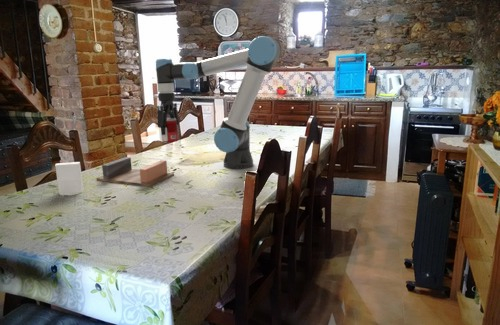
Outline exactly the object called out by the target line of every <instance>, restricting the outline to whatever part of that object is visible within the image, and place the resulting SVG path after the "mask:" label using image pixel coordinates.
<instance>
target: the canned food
mask: <svg viewBox="0 0 500 325" xmlns="http://www.w3.org/2000/svg"><path fill="white" fill-rule="evenodd" d="M165 128H167V136H168V141H162V143H167V144H168V143H169V144H170V143H174V142H177V141H178V138H179V135H178V125H177V120H176V118H170V117H167V120H166V127H165ZM160 135H161V136H162V134H161V133H160Z"/></svg>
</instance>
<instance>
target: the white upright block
mask: <svg viewBox="0 0 500 325" xmlns="http://www.w3.org/2000/svg"><path fill="white" fill-rule="evenodd" d="M54 167H55V173H56V174H55V175H56V181H57V185H58V186H57V187H58V193H59V195H60V196H64V195H68V196H73V195H74V196H75V195H79V194H81V193H83V192H84V184H83V175H82V166H81V162H80V161H72V162H60V163H58V162H57V163H55V165H54Z"/></svg>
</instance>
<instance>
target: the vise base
mask: <svg viewBox="0 0 500 325" xmlns="http://www.w3.org/2000/svg"><path fill="white" fill-rule="evenodd" d="M101 169H102V176H98V177H96V181H100V182H107V183H114V184H115V183H117V184H124V185H125V184H126V185H133V186H141V187H150V188H152V187H154V186H156V185H159V184H161V183H162V182H164V181H166V180H168V179H170V178H172V177H174V176H175V173H173V172H167V173H166V174H164V175H162V176H160V177H158V178H156V179H154V180H152V181H150V182H147V183H144V182H141V177H140V169H134V168H132V158H131V157H129V156H128V157H127V156H124V157H122V158H119V159H115V160H113V161H111V162H108V163H103V164H102V165H101Z"/></svg>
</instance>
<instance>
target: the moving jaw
mask: <svg viewBox="0 0 500 325" xmlns="http://www.w3.org/2000/svg"><path fill="white" fill-rule="evenodd" d="M139 170H140V177H141V182H144V183H147V182H150V181H152V180H154V179H156V178H158V177H160V176H162V175H164V174H166V173H168V162H167V160H162V159H161V160H158V161H156V162H153V163H151V164H148V165H147V166H144V167H141V168H140V169H139Z"/></svg>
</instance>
